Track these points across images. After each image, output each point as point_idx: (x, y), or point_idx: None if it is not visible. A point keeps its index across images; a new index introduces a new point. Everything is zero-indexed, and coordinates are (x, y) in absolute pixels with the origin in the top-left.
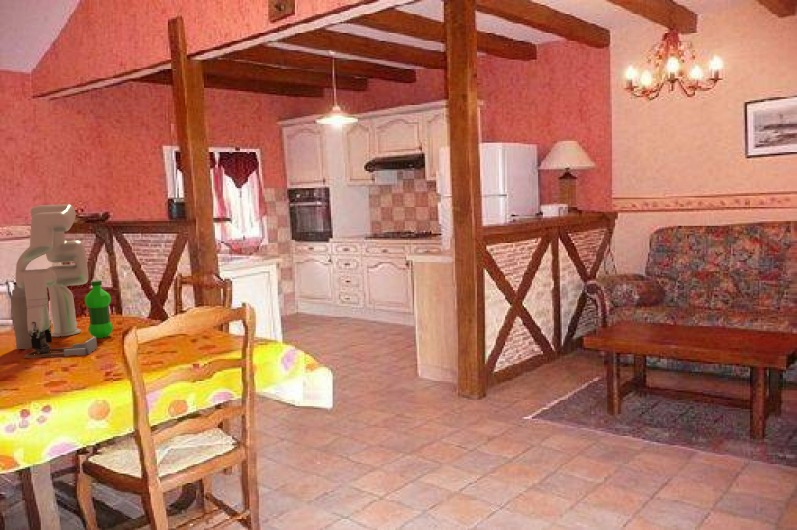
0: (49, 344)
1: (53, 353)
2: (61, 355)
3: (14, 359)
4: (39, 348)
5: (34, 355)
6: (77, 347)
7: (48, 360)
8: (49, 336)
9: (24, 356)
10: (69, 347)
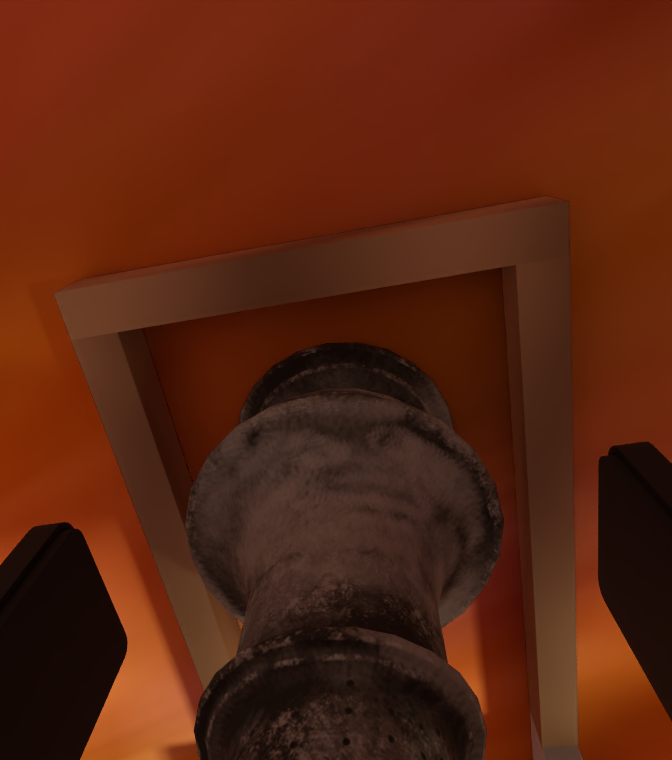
0: (461, 607)
1: None
2: None
3: (29, 80)
4: (206, 550)
5: (118, 459)
6: None
7: None
8: (669, 701)
9: (63, 297)
10: (576, 703)
